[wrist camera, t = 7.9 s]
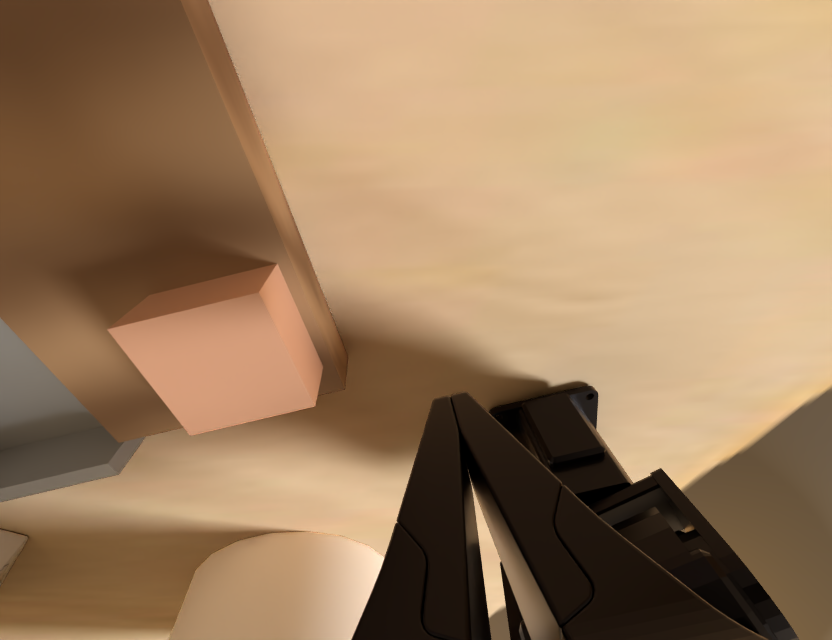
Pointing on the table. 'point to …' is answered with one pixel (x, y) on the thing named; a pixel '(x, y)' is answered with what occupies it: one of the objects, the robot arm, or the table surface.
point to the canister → (280, 589)
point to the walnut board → (131, 190)
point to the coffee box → (9, 550)
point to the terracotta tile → (224, 350)
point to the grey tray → (48, 429)
